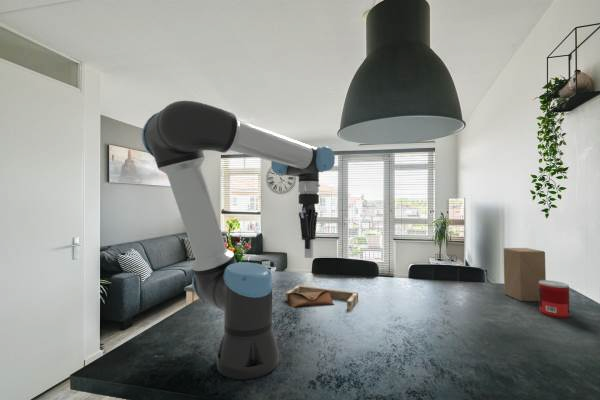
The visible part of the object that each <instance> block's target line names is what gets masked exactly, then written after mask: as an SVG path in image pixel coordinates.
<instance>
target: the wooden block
mask: <svg viewBox="0 0 600 400" xmlns="http://www.w3.org/2000/svg"><path fill="white" fill-rule="evenodd" d="M546 274H547V273H546V252H545V251H543V250H539V249H533V248H530V247H529V248H528V247H504V248H503V283H504V284H503V286H504V287H503V288H504V289H503V290H504V295H505V296H508V297H511V298H513V299H515V300H517V301H520V302H539V281H541V280H546V279H547V277H546Z"/></svg>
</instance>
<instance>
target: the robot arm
mask: <svg viewBox="0 0 600 400" xmlns="http://www.w3.org/2000/svg"><path fill="white" fill-rule="evenodd" d="M141 131H142V132H141V142H142V145H143V147H144V148H145V150H146V151H147V153H148V154H149V155H150V156H152V157H153V158H154V161H155V164H156V166H157V170H158V171H161V172H163V173H164V174H166V176H167V178H168V182H169V184H170V188H171V191H172V194H173V196H174V200H175V203H176V206H177V209H178V212H179V214H180V218H181V221H182V224H183V226H184V229H185V232H186V235H187V238H188V241H189V245H190V247H191V250H192V254H193V257H194V259H195V260H194V261H193V262H192V265H191V270H192V272H193V276H192V279H191V284H192V289H193V291H194V294H195V295H196V296H197V297H198V298H199V299H200V300H201V301H202V302H204V303H206V304H208V305H211V306H213V307H215V308H217V309H219V310H221V311H223V312H224V313H223V314H224V316H223V320H224V321H223V324H224V325H223V326H224V327H223V328H224V330H223V334H222V338H221V341H220V345H219V348H218V351H217V354H216V369H217V371H218V373H220V375H222V376H224V377H227V378H229V379H234V380H251V379H256V378H260V377H263V376H266V375H267V374H269V373H271V372H272V371H274V370H275V369H276V367H278V365H279V362H280V350H279V346H278V344H277V340H276V337H275V333H274V330H273V286H274V284H273V279H272V277H273V276H272V272H271V270H270V269H269V267H267V266H265V265H263V264H261V263H256V262H249V261H248V262H247V261H240V262H238V261H237V259H236V256H235V253H234V251H233V250H230V249H228V248H227V247H226V244H225V240H224V235H223V233H222V230H221V228H220V226H221V225H220V223H219V220H218V217H217V214H216V210H215V207H214V204H213V201H212V198H211V195H210V191H209V189H208V185H207V181H206V178H205V175H204V172H203V171H204V170H203V168H202V165H203V162H204V161H205V155H204V151H215V152H219V153H222V154H223V153H227V152H229V151H232V152H234V153H239V154H243V155H246V156H247V155H248V156H251V157H254V158H258V159H263V160H267V161H271V162H270V163H271V170H272V171H273V173H275V174H276V175H281V176H290V177H298V193H299V194H298V204H300V205H302V207H301V211H300V212H298V216H299V217H298V218H299V223H300V232H301V233H300V235H301V240H303V241H304V258H307V259H313V258H314V240H316V235H317V234H316V233H317V221H318V216H319V213H318V211H316V206H315V205H318V204H319V203H320V195H319V192H320V191H319V189H320V187H321V185H320V183H319V182H320V179H319V178H320V177H319V176H320V173H324V172H327V171H330V170H332V169H333V168H334V166H335V160H336V159H335V158H336V156H335V152H334V151H333V149H332V148H331V147H329V146H317V147H315V146H312V145H310V144H306V143H303V142H301V141H298V140H296V139H295V140H294V139H292V138H289V137H287V136H284V135H281V134H278V133H275V132H273V131H270V130H267V129H264V128H261V127H258V126H255V125H254V124H251V123H247V122H245V121H243V120H239V119H238V118H237V116H236V114H235V113H233V112H230V111H227V110H224V109H222V108H220V107H217V106H213V105H209V104H207V103H202V102H198V101H193V100H177V101H174V102H172V103H169V104H167V106H165V107H164V108H163V109H161V110H160V111H158V112H156V113H154V114H153V115H151V116H150V117H148V119H147V121H146V122H145V124H144V126H143V128H142V130H141Z"/></svg>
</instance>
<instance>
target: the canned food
mask: <svg viewBox="0 0 600 400" xmlns="http://www.w3.org/2000/svg"><path fill="white" fill-rule="evenodd" d="M538 303H539V304H538V305H539V306H538V307H539V312H540V313H541V314H543V315H544V316H547V317H551V318H557V319H567V318H569V317H570V315H571V314H570V312H571V311H570V285H569V284H568V283H566V282H563V281H557V280H548V279H547V280H541V281H539V301H538Z"/></svg>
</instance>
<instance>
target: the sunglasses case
mask: <svg viewBox="0 0 600 400" xmlns="http://www.w3.org/2000/svg"><path fill="white" fill-rule="evenodd" d="M286 301H287V303H288V304H289V307H291V309H296V308H305V307H319V306H335V303H334V302H333V298H331V296H330V294H329V291H323V292H307V293H290V294H288V297H287V300H286Z"/></svg>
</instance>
